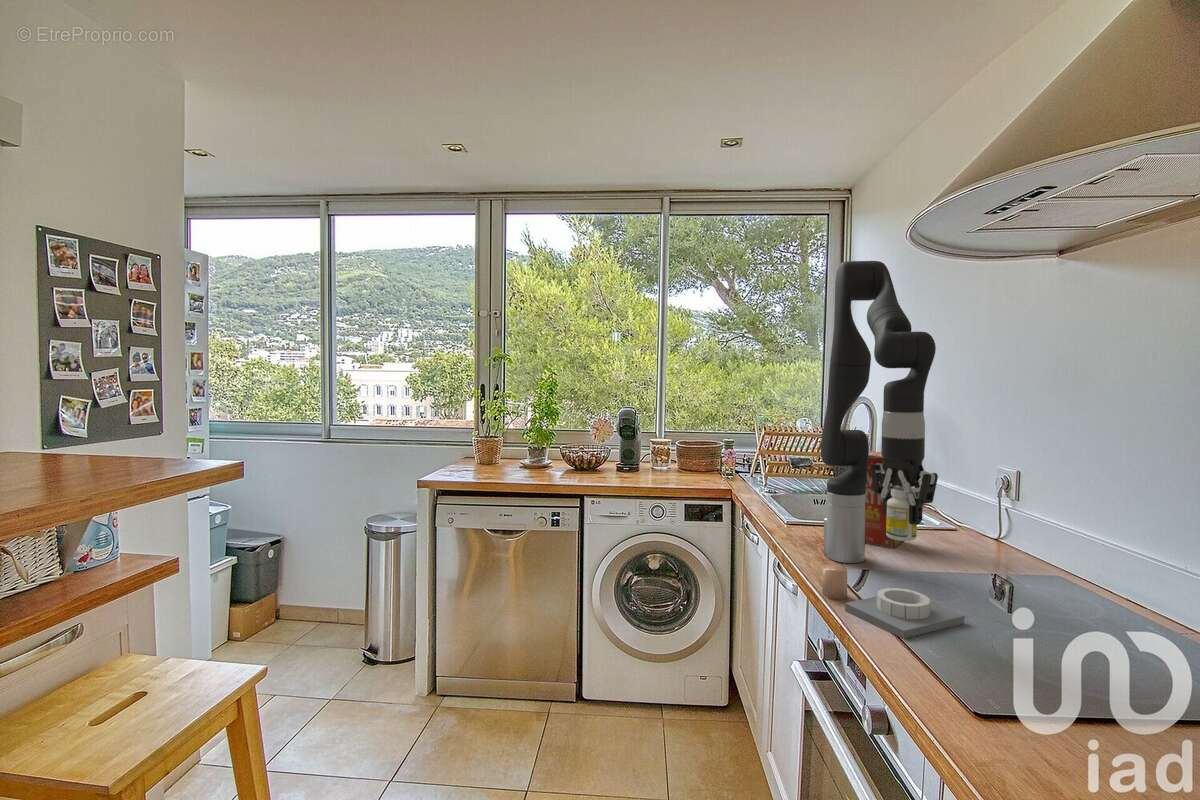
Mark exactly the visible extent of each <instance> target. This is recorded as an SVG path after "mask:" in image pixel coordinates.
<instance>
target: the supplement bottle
mask: <svg viewBox="0 0 1200 800" xmlns="http://www.w3.org/2000/svg"><path fill="white" fill-rule="evenodd" d="M891 496H892V498H890V499H889V500H888V501H887V521H886V535H887V536H888V537H889V538H891V539H894V540H899V541H905V542H911V541H915V540H916V539H917V533H918V532H917V530H918V529H917V525H918V524H916V525H913V524H910V523H909V505H911V504H910V501H909V498H908V495H907V494H906V493H905V492H904V488H902V487H895V488H891Z"/></svg>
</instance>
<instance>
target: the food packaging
mask: <svg viewBox="0 0 1200 800" xmlns="http://www.w3.org/2000/svg"><path fill="white" fill-rule="evenodd" d="M883 461H884V458H883V457H882V455H881V451H875V450H874V451H873V450H872V451H871V450H869V456H868V469H867V483H866V502H865V505H866V506H865V545H866V544H868V545H872V546H878V547H882V548H883V547H884V548H888V549H897V547H899V546H901V545H903V544H904V543H905V542H906V541H899V540H894V539H891V538H889V537H888V536H887V535H886V521H887V517H884V514H883V498H882V497H881V495H880V494H878V493H877V494H876V493H875V492H874V489H873V482H872V475H871V469H870V466H871V464H878V463H879V464H880V463H883ZM848 467H849V466H846V470H847V469H848ZM885 477H886V474H885ZM879 487H880V481H879ZM900 487H901V486H900ZM902 488H903V487H902Z"/></svg>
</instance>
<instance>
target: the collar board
mask: <svg viewBox="0 0 1200 800" xmlns="http://www.w3.org/2000/svg"><path fill="white" fill-rule="evenodd" d="M844 610H845V611H846V612H848V613H850V614H851V615H854V616H856V617H859V618H860V619H862V620H863V621H866V622H869V623H870V624H872V625H874V626H877V627H879V628H880V629H882V630H885V631H887V632H889V633H891V634H893V635H895V636H897V637H898V638H901V637H902V639H903V638H905V639H907V638H906V637H909V638H911V637H910V636H913V637H915V636H914V635H917V636H920V635H919V634H921V635H924V634H923V633H925V634H928V633H927V632H929V633H931V632H930V631H933V630H936V631H939V630H938V629H940V630H944V629H947V627H948V628H951V627H955V626H959V625H963V624H965V615H964V614H961V613H959V612H956V611H954V610H952V609H950V608H946V607H944V606H942V605H940V604H936V603H934V602H931V599H930V598H929V597H928V596H927V595H926V594H923V593H921V592H918V591H915V590H911V589H906V588H900V587H898V588H897V587H887V588H882V589H879V590H878V591H877V593H876V596H872V597H868V598H863V599H859V600H858V599H857V600H853V601H849V602H845V603H844ZM943 628H944V629H943ZM933 632H934V631H933Z"/></svg>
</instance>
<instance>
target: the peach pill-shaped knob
mask: <svg viewBox="0 0 1200 800" xmlns="http://www.w3.org/2000/svg"><path fill="white" fill-rule="evenodd" d="M821 567H822V579H821V580H822V581H821V582H822V583H821V584H822V585H821V587H822V589H821V590H822V591H821V592H822V593H821V594H823V595H822V596H823V597H824V596H825V597H824V598H826V597H828V598H827V599H829V598H831V599H830V600H834V599H839V600H838V601H841V599H842V600H846V599H847V598H848V568H847V567H845V566H843V565H839V564H831V563H830V564H825V565H823V566H821Z"/></svg>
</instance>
